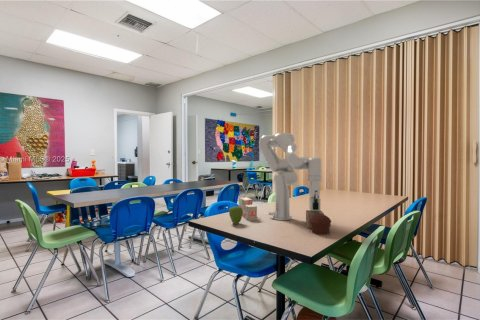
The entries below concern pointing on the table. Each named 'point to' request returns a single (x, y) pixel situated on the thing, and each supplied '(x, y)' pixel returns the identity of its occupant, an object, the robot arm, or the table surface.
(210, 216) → the table surface
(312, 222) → the muffin
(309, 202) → the sage block
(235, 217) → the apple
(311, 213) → the riser box
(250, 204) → the stack of blocks
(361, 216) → the table surface
